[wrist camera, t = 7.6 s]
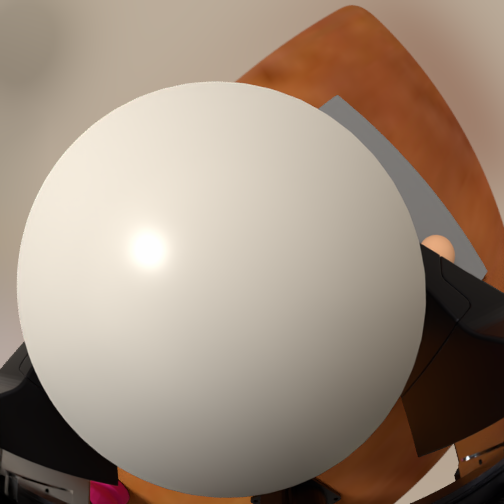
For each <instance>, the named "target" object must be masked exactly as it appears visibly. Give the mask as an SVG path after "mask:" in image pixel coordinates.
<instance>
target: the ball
mask: <svg viewBox="0 0 504 504" xmlns="http://www.w3.org/2000/svg"><path fill="white" fill-rule="evenodd" d="M421 244H423V245H424V246H426V247H428V248H429V249H431V250H433V251H434V252H436V253H438V254H439V255H440V256H443V257H444V258H446V259H447V260H449V261H450V262H452V263H454V260H455V251H454V248H453V246H452V244H451V242H450V241H449V240H448V239H447V238H445V237H443V236H441V235H432V236H429V237H427V238H426V239H424V240H423V241H422V243H421Z"/></svg>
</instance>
